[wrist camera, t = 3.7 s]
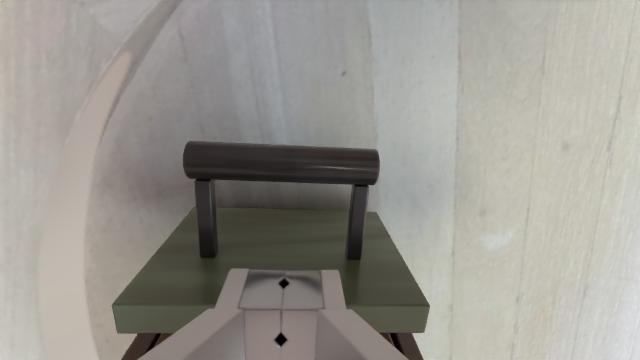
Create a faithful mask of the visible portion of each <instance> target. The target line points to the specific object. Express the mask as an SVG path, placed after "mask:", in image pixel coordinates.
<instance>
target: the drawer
mask: <svg viewBox="0 0 640 360" xmlns="http://www.w3.org/2000/svg"><path fill="white" fill-rule="evenodd" d="M183 167H184V172H185V174H186V176H187V177H188V178H190V179H196V180H195V182H194V183H195V197H196V207H194V208H193V209H192V210H191V211H190V212H189V214H188V215H187V216H186V217H185V218H184V220H183V221H182V222H181V223H180V224H179V226H178V227H177V228H176V229H175V230H174V231H173V233H172V234H171V235H170V236H169V237H168V239H167V240H166V241H165V242H164V243H163V244H162V246H161V247H160V248H159V249H158V250H157V252H156V253H155V254H154V255H153V256H152V257H151V259H150V260H149V261H148V262H147V263H146V265H145V266H144V267H143V268H142V269H141V271H140V272H139V273H138V274H137V275H136V276H135V278H134V279H133V280H132V281H131V282H130V284H129V285H128V286H127V287H126V288H125V289H124V291H123V292H122V293H121V294H120V295H119V297H118V298H117V299H116V300H115V301H114V303H113V304H112V308H113V313H114V318H115V324H116V329H117V333H161V335H160V337H159V339H158V341H157V343H156V344H155V346H154V347H156V346H157V345H158V344H160V343H161V342H163V341H164V340H165V339H167V338H168V337H170V336H171V335H172V334H174V333H175V332H177V331H178V330H179V329H181V328H182V327H184V326H185V325H186V324H188V323H189V322H191V321H192V320H193V319H195V318H196V317H198V316H199V315H200V314H202V313H203V312H205V311H206V310H207V309H214V308H215V306H216V303H217V301H218V298H219V296H220V293H221V291H222V288H223V286H224V283H225V280H226V278H227V275H228V273H229V271H230V270H231V269H232V268H239V269H273V270H338V271H339V274H340V279H341V284H342V289H343V295H344V300H345V305H346V309H352V310H353V311H354V312H355V313H357V314H358V315H359V316H360V317H361V318H362V319H363V320H364V321H366V322H367V323H368V324H369V325H370V326H371V327H372V328H374V329H375V330H376V331H377V332H378V333H379V334H380V335H381V336H383V337H384V338H385V339H386V340H387V341H388V342H389V343H391V344H392V345H393V342H392V339H391V336H390V333H423V332H425V327H426V323H427V318H428V313H429V308H430V305H429V303H428V302H427V300H426V298H425V296H424V295H423V293H422V291H421V289H420V288H419V286H418V284H417V282H416V281H415V279H414V277H413V275H412V274H411V272H410V270H409V268H408V267H407V265H406V263H405V261H404V260H403V258H402V256H401V255H400V253H399V251H398V249H397V248H396V246H395V244H394V242H393V241H392V239H391V237H390V235H389V234H388V232H387V230H386V228H385V227H384V225H383V223H382V221H381V220H380V218H379V216H378V214H377V213H376V212H366V211H367V203H368V194H369V186H368V185H375V184H376V182H377V180H378V176H379V168H380V161H379V154H378V151H377V150H375V149H360V148H338V147H316V146H293V145H271V144H249V143H226V142H204V141H189V142H188V143H187V144H186V146H185V149H184V154H183ZM214 180H239V181H267V182H295V183H323V184H352V189H351V200H350V210H349V211H326V210H291V209H256V208H221V207H216V203H215V184H214ZM393 346H394V345H393Z"/></svg>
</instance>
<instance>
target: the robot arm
mask: <svg viewBox="0 0 640 360" xmlns="http://www.w3.org/2000/svg"><path fill="white" fill-rule="evenodd" d="M137 360H409V359H408V358H406V357H405V356H404V355H403V354H402V353H401V352H400V351H398V350H397V349H396V348H395V347H394V346H393V345H392V344H391V343H389V342H388V341H387V340H386V339H385V338H384V337H383V336H381V335H380V334H379V333H378V332H377V331H376V330H375V329H374V328H372V327H371V326H370V325H369V324H368V323H367V322H366V321H364V320H363V319H362V318H361V317H360V316H359V315H358V314H357V313H355V312H354V311H353V310H352V309H346V305H345V300H344V295H343V289H342V284H341V279H340V274H339V271H338V270H273V269H239V268H232V269H231V270H230V271H229V273H228V275H227V278H226V280H225V283H224V286H223V288H222V291H221V293H220V296H219V298H218V301H217V303H216V306H215V308H214V309H207V310H206V311H205V312H203V313H202V314H200V315H199V316H198V317H196V318H195V319H193V320H192V321H191V322H189V323H188V324H186V325H185V326H184V327H182V328H181V329H179V330H178V331H177V332H175V333H174V334H172V335H171V336H170V337H168V338H167V339H165V340H164V341H163V342H161V343H160V344H158V345H157V346H156V347H154V348H153V349H151V350H150V351H149V352H147V353H146V354H144V355H143V356H142V357H140V358H139V359H137Z"/></svg>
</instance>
